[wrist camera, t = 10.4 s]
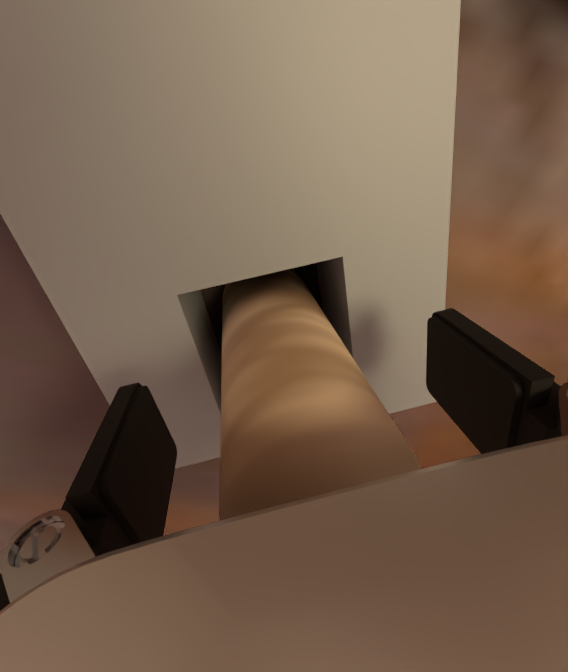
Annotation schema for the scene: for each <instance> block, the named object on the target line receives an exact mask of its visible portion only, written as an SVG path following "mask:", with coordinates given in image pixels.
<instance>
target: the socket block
mask: <svg viewBox="0 0 568 672" xmlns="http://www.w3.org/2000/svg"><path fill="white" fill-rule="evenodd" d="M460 5H461V0H0V214H1V216H2V217H3V219H4V221H5V223H6V224H7V226H8V228H9V230H10V231H11V233H12V235H13V237H14V239H15V240H16V242H17V244H18V246H19V247H20V249H21V251H22V253H23V254H24V256H25V258H26V260H27V261H28V263H29V265H30V267H31V268H32V270H33V272H34V274H35V275H36V277H37V279H38V281H39V282H40V284H41V286H42V288H43V289H44V291H45V293H46V295H47V296H48V298H49V300H50V302H51V303H52V305H53V307H54V309H55V310H56V312H57V314H58V316H59V317H60V319H61V321H62V323H63V324H64V326H65V328H66V330H67V332H68V333H69V335H70V337H71V339H72V340H73V342H74V344H75V346H76V347H77V349H78V351H79V353H80V354H81V356H82V358H83V360H84V361H85V363H86V365H87V367H88V368H89V370H90V372H91V374H92V375H93V377H94V379H95V381H96V382H97V384H98V386H99V388H100V389H101V391H102V393H103V395H104V396H105V398H106V400H107V402H108V403H109V405H111V403H112V401H113V399H114V397H115V394H116V392H117V390H118V389H119V387H121V386H125V385H130V384H134V383H140V384H141V385H142V386H145V385H146V386H147V387H148V388H149V390H150V392H151V394H152V396H153V398H154V400H155V402H156V405H157V407H158V409H159V411H160V413H161V415H162V417H163V419H164V421H165V423H166V425H167V427H168V430H169V432H170V434H171V436H172V438H173V440H174V442H175V444H176V447H177V459H176V465H175V469H176V468H180V467H184V466H188V465H192V464H196V463H200V462H204V461H208V460H212V459H215V458H219V457H220V438H221V373H222V354H221V351H220V348H219V345H218V342H217V339H216V336H215V333H214V330H213V327H212V324H211V321H210V318H209V315H208V312H207V309H206V306H205V303H204V300H203V296H202V293H201V289H205V288H209V287H214V286H218V285H222V284H227V283H231V282H235V281H240V280H244V279H248V278H253V277H257V276H261V275H265V274H270V273H274V272H278V271H283V270H287V269H291V268H296V267H300V266H304V265H309V264H313V263H316V267H317V274H318V281H319V288H320V295H321V302H322V309H323V313H324V314H325V316H326V317H327V319H328V320H329V322H330V323H331V325H332V327H333V328H334V330H335V331H336V333H337V334H338V336H339V337H340V339H341V340H342V342H343V344H344V345H345V347H346V348H347V350H348V351H349V353H350V354H351V356H352V358H353V359H354V361H355V362H356V364H357V365H358V367H359V368H360V370H361V371H362V373H363V375H364V376H365V378H366V379H367V381H368V382H369V384H370V385H371V387H372V388H373V390H374V392H375V393H376V395H377V396H378V398H379V399H380V401H381V402H382V404H383V406H384V407H385V409H386V410H387V412H388V413H389V414H391V413H395V412H398V411H402V410H406V409H410V408H414V407H418V406H422V405H426V404H430V403H434V402H437V401H436V400H435V399H434V398H433V397H432V395H431V394H430V393H429V391H428V389H427V386H426V359H427V322H428V319H429V318H431V317H432V314H433V313H434V312H437V311H442V310H445V298H446V279H447V259H448V240H449V220H450V201H451V181H452V162H453V142H454V122H455V103H456V83H457V64H458V44H459V25H460Z"/></svg>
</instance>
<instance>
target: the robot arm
mask: <svg viewBox="0 0 568 672" xmlns="http://www.w3.org/2000/svg"><path fill="white" fill-rule="evenodd" d="M554 378H555V376H554V375H552V374H551V373H549V372H548V371H546V370H545V369H543V368H542V367H540V366H539V365H537V364H536V363H534V362H533V361H531V360H530V359H528V358H527V357H525V356H524V355H522V354H521V353H519V352H518V351H516V350H515V349H513V348H512V347H510V346H509V345H507V344H506V343H504V342H503V341H501V340H500V339H498V338H497V337H495V336H494V335H492V334H491V333H489V332H488V331H486V330H485V329H483V328H482V327H480V326H479V325H477V324H476V323H474V322H473V321H471V320H470V319H468V318H467V317H465V316H464V315H462V314H461V313H459V312H458V311H456V310H455V309H452V308H450V309H446V310H442V311H437V312H434V313H433V314H432V317H431V318H429V319H428V322H427V359H426V386H427V389H428V391H429V393H430V394H431V395H432V397H433V398H434V399H435V400H436V401H437V402H438V404H439V405H440V406H441V407H442V408H443V409H444V411H445V412H446V413H447V414H448V415H449V416H450V418H451V419H452V420H453V421H454V422H455V423H456V425H457V426H458V427H459V428H460V429H461V430H462V432H463V433H464V434H465V435H466V436H467V437H468V439H469V440H470V441H471V442H472V443H473V444H474V446H475V447H476V448H477V449H478V450H479V451H480V453H481V454H480V455H476V456H472V457H468V458H464V459H460V460H456V461H452V462H448V463H444V464H440V465H436V466H432V467H428V468H424V469H420V470H416V471H412V472H407V473H403V474H399V475H395V476H391V477H388V478H384V479H380V480H376V481H372V482H368V483H364V484H360V485H356V486H352V487H348V488H344V489H340V490H336V491H332V492H329V493H325V494H321V495H317V496H313V497H309V498H305V499H301V500H297V501H293V502H290V503H286V504H282V505H278V506H274V507H270V508H266V509H263V510H259V511H255V512H251V513H247V514H243V515H240V516H236V517H232V518H228V519H224V520H220V521H217V522H213V523H209V524H205V525H201V526H197V527H194V528H190V529H187V530H183V531H179V532H176V533H172V534H169V535H165V536H163V533H164V527H165V521H166V516H167V510H168V504H169V499H170V493H171V487H172V482H173V476H174V470H175V465H176V459H177V447H176V444H175V442H174V440H173V438H172V436H171V434H170V432H169V430H168V427H167V425H166V423H165V421H164V419H163V417H162V415H161V413H160V411H159V409H158V407H157V405H156V402H155V400H154V398H153V396H152V394H151V392H150V390H149V388H148V387H147V386H146V385H145V386H142V385H141V384H140V383H134V384H130V385H125V386H121V387H119V389H118V390H117V392H116V394H115V397H114V399H113V401H112V403H111V405H110V407H109V409H108V411H107V413H106V415H105V417H104V419H103V421H102V423H101V425H100V428H99V430H98V432H97V434H96V436H95V438H94V440H93V442H92V444H91V446H90V448H89V450H88V452H87V454H86V456H85V459H84V461H83V463H82V465H81V467H80V469H79V471H78V473H77V475H76V477H75V479H74V481H73V483H72V485H71V487H70V490H69V492H68V494H67V496H66V500H65V502H64V504H63V506H62V508H61V510H59V509H58V510H53V511H49V512H46V513H44V514H41V515H39V516H38V517H36V518H34V519H33V520H31V521H30V522H28V523H27V524H26V525H25V526H23V527H22V528H21V529H20V530H19V531H18V532H17V533H16V534H15V535H14V536H13V537H12V538H11V540H10V541H9V542H8V544H7V545H6V547H5V549H4V550H3V552H2V555H1V558H0V571H1V574H0V672H568V382H567V383H564V384H563V385H562V386H559V385H558V384H556V383H555V382H554Z"/></svg>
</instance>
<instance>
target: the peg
mask: <svg viewBox="0 0 568 672" xmlns="http://www.w3.org/2000/svg"><path fill="white" fill-rule="evenodd" d="M420 469H421V468H420V464H419V461H418V459H417V457H416V455H415V454H414V452H413V450H412V449H411V447H410V446H409V444H408V443H407V441H406V440H405V438H404V436H403V435H402V433H401V432H400V430H399V429H398V427H397V426H396V424H395V423H394V421H393V419H392V418H391V416H390V415H389V413H388V412H387V410H386V409H385V407H384V406H383V404H382V402H381V401H380V399H379V398H378V396H377V395H376V393H375V392H374V390H373V388H372V387H371V385H370V384H369V382H368V381H367V379H366V378H365V376H364V375H363V373H362V371H361V370H360V368H359V367H358V365H357V364H356V362H355V361H354V359H353V358H352V356H351V354H350V353H349V351H348V350H347V348H346V347H345V345H344V344H343V342H342V340H341V339H340V337H339V336H338V334H337V333H336V331H335V330H334V328H333V327H332V325H331V323H330V322H329V320H328V319H327V317H326V316H325V314H324V313H323V311H322V310H321V308H320V306H319V305H318V303H317V302H316V300H315V299H314V297H313V296H312V294H311V293H310V291H309V289H308V288H307V286H306V285H305V283H304V282H303V280H302V279H301V277H300V276H299V274H298V273H297V272H296V271H295V270H294V269H293V268H291V269H287V270H283V271H278V272H274V273H270V274H265V275H261V276H257V277H253V278H248V279H244V280H240V281H235V282H231V283H227V284H226V285H225V288H224V292H223V308H222V373H221V438H220V502H219V516H220V520H224V519H228V518H232V517H236V516H240V515H243V514H247V513H251V512H255V511H259V510H263V509H266V508H270V507H274V506H278V505H282V504H286V503H290V502H293V501H297V500H301V499H305V498H309V497H313V496H317V495H321V494H325V493H329V492H332V491H336V490H340V489H344V488H348V487H352V486H356V485H360V484H364V483H368V482H372V481H376V480H380V479H384V478H388V477H391V476H395V475H399V474H403V473H407V472H412V471H416V470H420Z"/></svg>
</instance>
